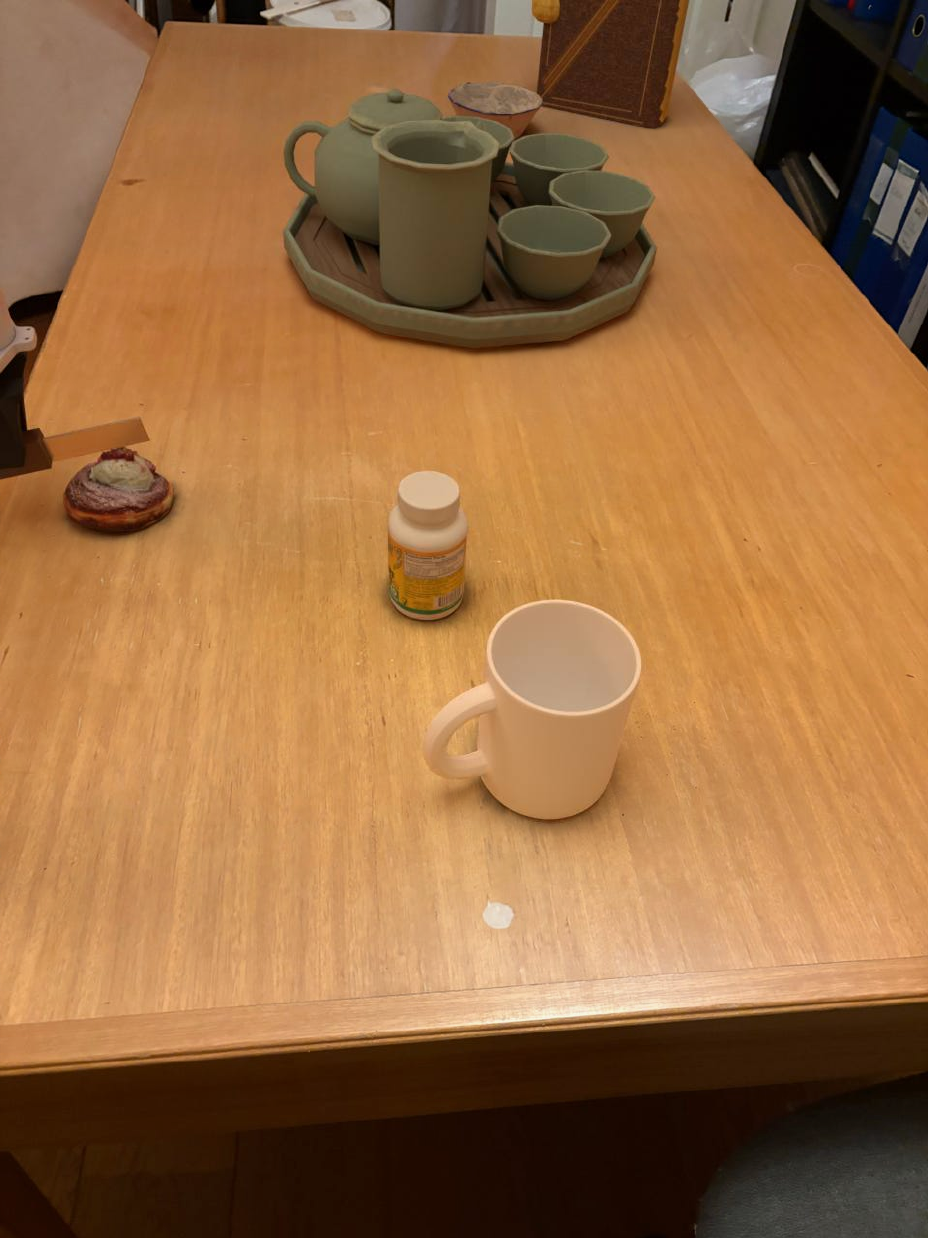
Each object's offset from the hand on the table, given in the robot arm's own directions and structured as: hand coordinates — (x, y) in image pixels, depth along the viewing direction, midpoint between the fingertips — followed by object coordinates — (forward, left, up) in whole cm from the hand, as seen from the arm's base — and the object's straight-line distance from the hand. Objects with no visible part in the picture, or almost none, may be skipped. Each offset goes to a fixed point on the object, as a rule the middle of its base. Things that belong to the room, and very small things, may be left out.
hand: (10, 455), depth 66 cm
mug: (+29, -30, -6) cm, 42 cm away
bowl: (+56, +75, -6) cm, 94 cm away
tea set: (+43, +37, -6) cm, 57 cm away
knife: (+4, 0, -1) cm, 4 cm away
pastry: (+6, 0, -6) cm, 9 cm away
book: (+74, +83, -6) cm, 112 cm away
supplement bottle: (+27, -14, -6) cm, 31 cm away
